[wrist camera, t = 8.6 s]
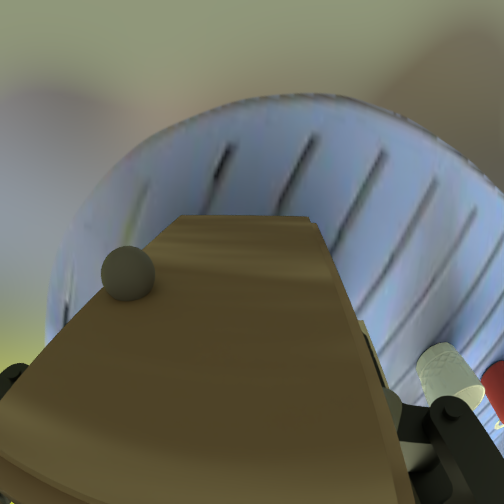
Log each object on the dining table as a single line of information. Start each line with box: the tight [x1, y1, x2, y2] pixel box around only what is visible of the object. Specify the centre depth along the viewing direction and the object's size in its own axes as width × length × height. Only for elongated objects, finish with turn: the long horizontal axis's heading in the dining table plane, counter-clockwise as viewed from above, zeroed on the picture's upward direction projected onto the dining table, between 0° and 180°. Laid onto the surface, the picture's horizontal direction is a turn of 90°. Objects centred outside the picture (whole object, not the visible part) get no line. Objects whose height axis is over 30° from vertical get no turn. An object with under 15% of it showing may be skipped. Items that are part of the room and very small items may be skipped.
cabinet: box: [0, 215, 415, 504], centre depth 9 cm, size 10×6×12 cm, turn 0°
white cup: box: [416, 342, 485, 411], centre depth 32 cm, size 8×8×10 cm
